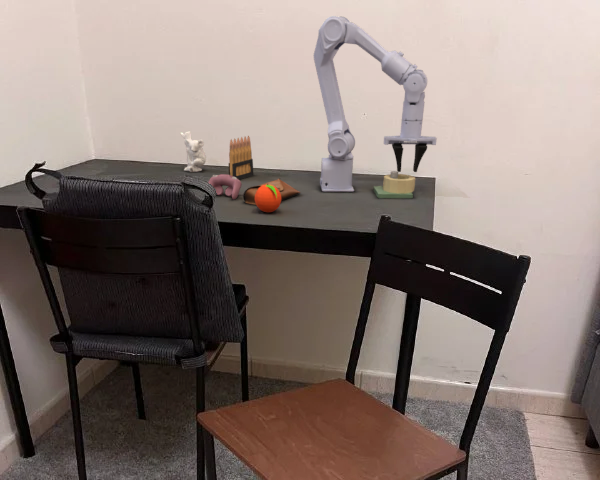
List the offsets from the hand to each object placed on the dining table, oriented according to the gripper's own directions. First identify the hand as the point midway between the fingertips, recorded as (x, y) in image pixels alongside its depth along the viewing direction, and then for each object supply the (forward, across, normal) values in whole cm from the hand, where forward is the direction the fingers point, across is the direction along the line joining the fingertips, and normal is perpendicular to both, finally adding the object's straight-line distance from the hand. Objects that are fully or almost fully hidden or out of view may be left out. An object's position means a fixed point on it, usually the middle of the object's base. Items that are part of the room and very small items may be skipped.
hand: (406, 171), depth 177 cm
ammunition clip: (+7, -49, +21) cm, 53 cm away
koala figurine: (+7, -65, +31) cm, 72 cm away
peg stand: (+6, -4, 0) cm, 7 cm away
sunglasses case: (+7, -39, -6) cm, 40 cm away
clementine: (+7, -40, -21) cm, 45 cm away
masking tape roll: (+5, -2, 0) cm, 6 cm away
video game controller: (+7, -53, -4) cm, 53 cm away
